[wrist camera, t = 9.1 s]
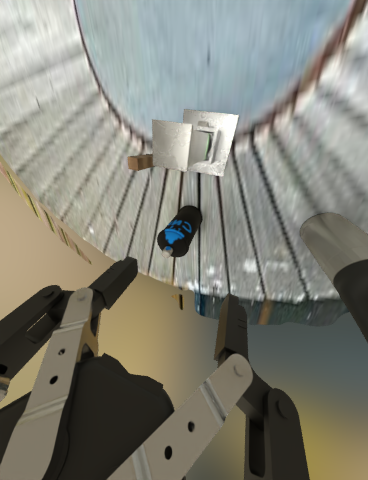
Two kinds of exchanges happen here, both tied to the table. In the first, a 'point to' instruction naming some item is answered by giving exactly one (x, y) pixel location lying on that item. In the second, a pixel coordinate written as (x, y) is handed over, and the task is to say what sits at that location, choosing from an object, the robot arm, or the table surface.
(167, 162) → the grey-green long block
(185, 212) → the aerosol can
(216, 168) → the stand base
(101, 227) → the table surface
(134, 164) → the banded wooden rod
